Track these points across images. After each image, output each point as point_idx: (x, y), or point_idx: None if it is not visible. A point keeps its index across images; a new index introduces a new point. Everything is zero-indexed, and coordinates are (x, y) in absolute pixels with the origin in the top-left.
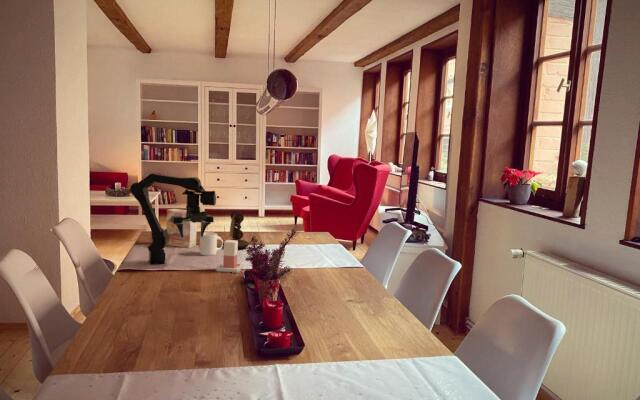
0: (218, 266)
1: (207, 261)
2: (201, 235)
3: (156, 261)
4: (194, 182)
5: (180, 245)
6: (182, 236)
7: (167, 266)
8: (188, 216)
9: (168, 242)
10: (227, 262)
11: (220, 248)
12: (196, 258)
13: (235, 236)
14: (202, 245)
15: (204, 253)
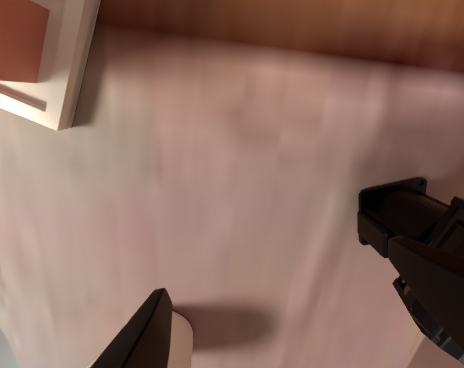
0: (73, 7)
1: (160, 222)
2: (160, 304)
3: (406, 190)
4: None
5: None
6: (410, 245)
7: (358, 142)
8: None
9: (406, 297)
10: None
11: (95, 360)
12: (209, 271)
13: None
14: (176, 359)
15: (172, 317)
